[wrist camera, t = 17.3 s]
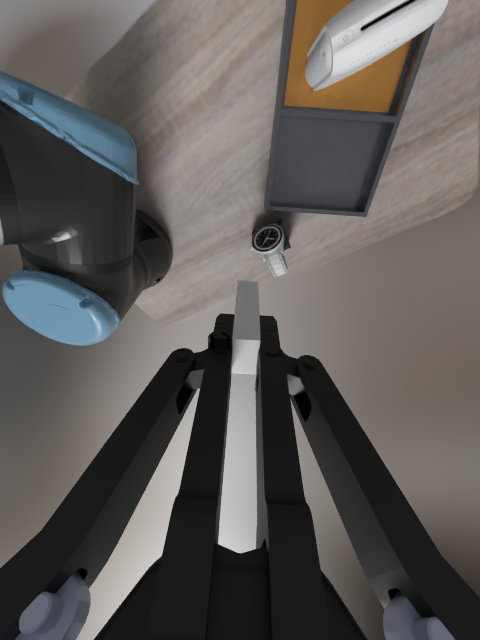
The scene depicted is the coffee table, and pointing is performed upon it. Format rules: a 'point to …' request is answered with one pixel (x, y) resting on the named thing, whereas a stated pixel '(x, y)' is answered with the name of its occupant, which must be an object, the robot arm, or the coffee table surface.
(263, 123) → the coffee table surface
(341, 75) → the photo printer
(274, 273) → the watch
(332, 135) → the tray
